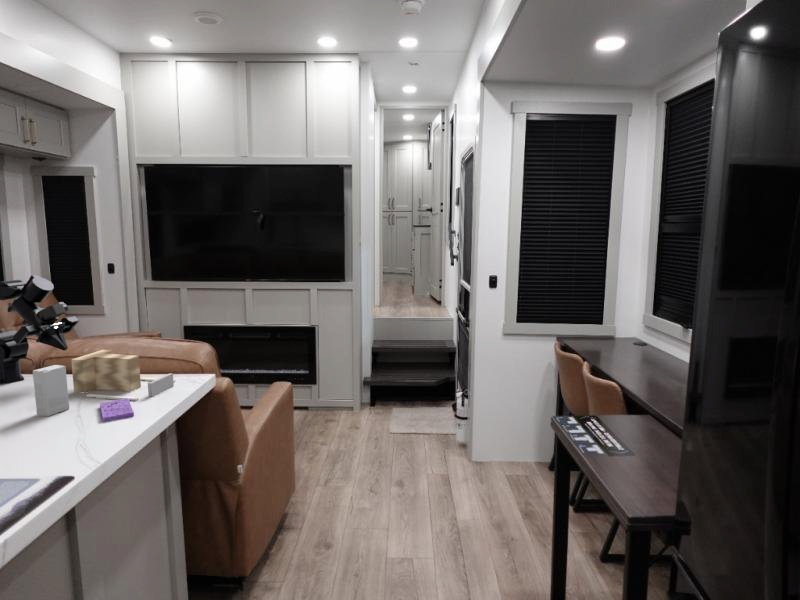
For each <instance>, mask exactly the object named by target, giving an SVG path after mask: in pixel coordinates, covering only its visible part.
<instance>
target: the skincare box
mask: <svg viewBox="0 0 800 600" xmlns="http://www.w3.org/2000/svg"><path fill="white" fill-rule="evenodd" d="M66 368H67V367H66V366H65V365H62V364H61V365H60V364H53V365H49V366H46V367H42V368H38V369H33V370H32V378H33V379H32V380H33V388H34V398H35V408H36V414H37V415H39V416H42V415H43V417H50V416H53V415H55V414H57V413H58V412H59V413H61V412H64V411H67V410H70V399H69V389H68V388H69V387H68V378H67V369H66Z"/></svg>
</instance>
